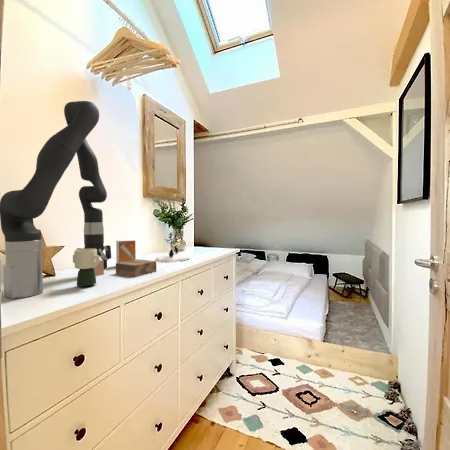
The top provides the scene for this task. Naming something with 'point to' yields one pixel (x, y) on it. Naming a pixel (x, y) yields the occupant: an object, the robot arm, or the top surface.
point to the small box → (125, 250)
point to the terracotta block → (99, 268)
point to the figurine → (172, 254)
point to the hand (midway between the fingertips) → (94, 271)
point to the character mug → (86, 266)
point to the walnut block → (135, 267)
